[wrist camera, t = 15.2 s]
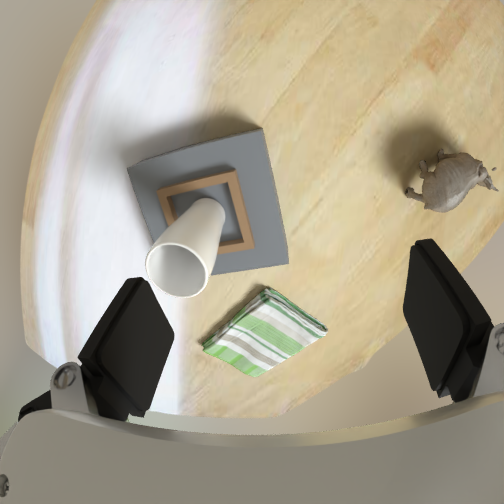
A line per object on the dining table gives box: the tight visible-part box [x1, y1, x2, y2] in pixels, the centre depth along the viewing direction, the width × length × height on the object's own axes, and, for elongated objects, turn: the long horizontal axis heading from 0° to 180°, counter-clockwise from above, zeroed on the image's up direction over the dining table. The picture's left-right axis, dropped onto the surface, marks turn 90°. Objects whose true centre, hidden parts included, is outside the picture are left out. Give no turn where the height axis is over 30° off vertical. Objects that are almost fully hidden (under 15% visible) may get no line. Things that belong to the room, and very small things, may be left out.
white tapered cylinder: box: [145, 198, 225, 298], centre depth 33 cm, size 7×7×15 cm
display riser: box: [127, 128, 289, 275], centre depth 42 cm, size 20×20×6 cm
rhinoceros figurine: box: [405, 149, 498, 212], centre depth 34 cm, size 8×14×15 cm
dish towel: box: [202, 288, 328, 377], centre depth 57 cm, size 17×23×4 cm
